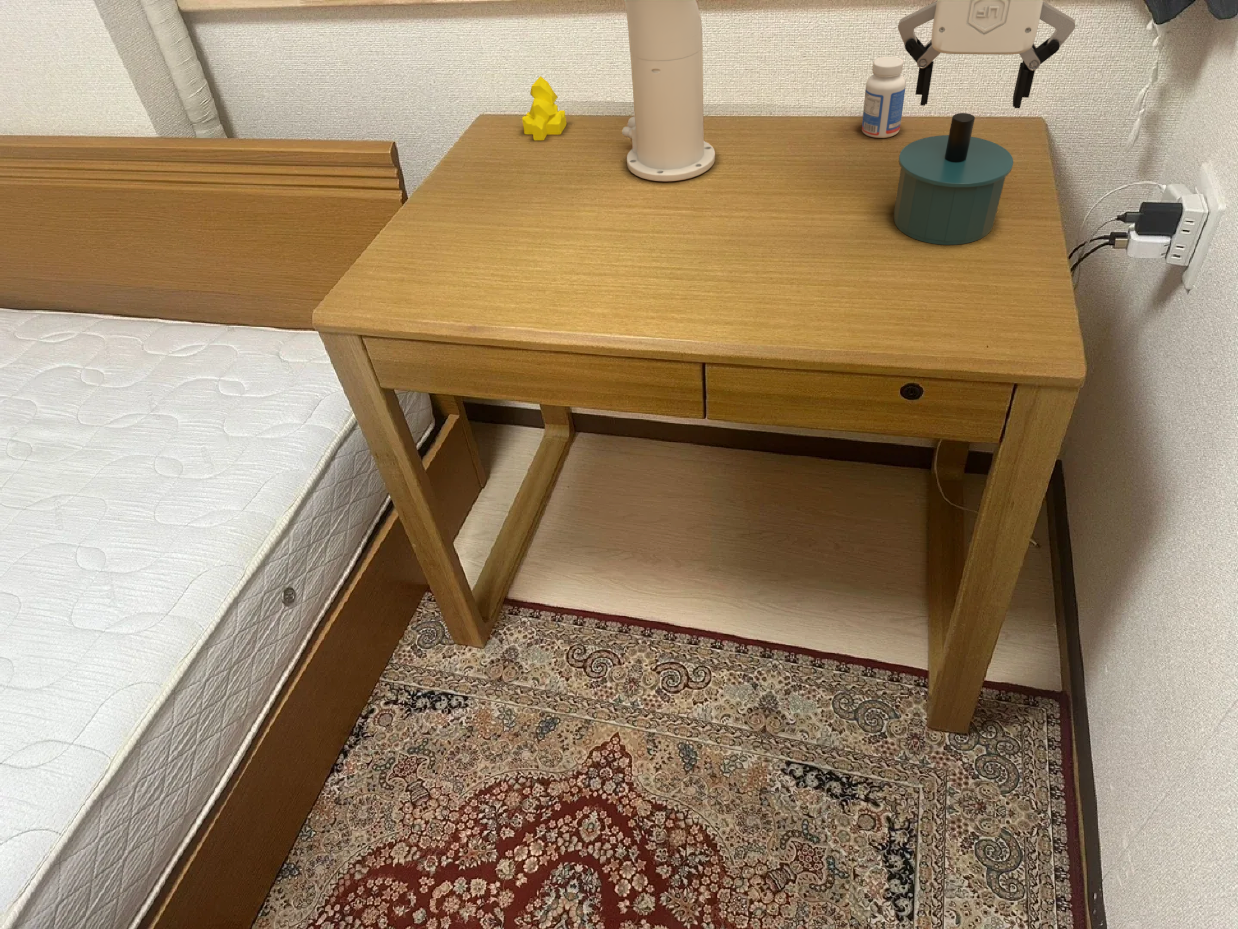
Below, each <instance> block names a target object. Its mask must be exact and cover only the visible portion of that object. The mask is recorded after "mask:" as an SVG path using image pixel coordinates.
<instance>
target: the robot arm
mask: <svg viewBox="0 0 1238 929" xmlns="http://www.w3.org/2000/svg"><path fill="white" fill-rule="evenodd" d="M623 1H624V7H625V12H626V21H627V31H628V42H629V54H630V69H631V83H632V84H631V85H632V97H633V99H632V100H633V112H634V116H631V117H630V118H629V119H628V121H627V126H624V127H623V128H622V130H621V135H622V136H623V137H625V138H628V139H631V142H632V148H631V149H630V150H629V151H628V153H627V155H626V166H627V169H628V171H630V172H631V173H632V174H634V175H635V176H637V177H639V178H641V179H643V180H644V179H645V180H648V181H654V182H677V181H678V182H679V181H684V180H689V179H692V178H696V177H698V176H700V175H702V174H704V173H706V172H707V171H708V170H710V169H711V168H712V167H713V165H714V164H715V161H716V152H715V151H716V150H715V148H714V147H713V146H712V145H711V144H710V143H709V142H707V141H705V134H704V133H705V132H704V130H705V129H704V128H705V127H704V126H705V125H704V54H703V53H704V51H703V50H704V49H703V48H704V45H703V24H702V18H701V12H700V8H699V5H698V2H697V0H623ZM932 20H933V21H932ZM930 21H932V28H931V39H930V40H929V41H928V42H927V43H926V44H925V45H924V44H923V42H921V40H920V39H919V38H918V37H917V35H916V32H915V29H916V28H918V27H920V26H921V25H924V24H926V23H928V22H930ZM1040 21H1041V22H1042V21H1043V22H1044V24H1045V23H1046V24H1047V25H1048V26H1050V27H1052V28H1054V29H1055V30H1054V31H1053V33H1052V35H1051V36H1050V37H1049V38H1047V39H1046V40H1044V41H1043V42H1042V43H1040V45H1038V46H1036V44H1035V40H1036V36H1037V33H1038V29H1039V25H1040ZM1075 29H1076V22H1075V19H1074V18H1073V17H1071V16H1069V15H1068V14H1066V13H1064V12H1063V11H1061V10H1059V9H1057V8H1056V7H1054V6H1052V5H1050V4H1048V3H1047V2H1046V1H1044V0H936V1H933V2H932V3H930V4H928V5H926V6H923V7H922V8H919V9H918V10H916V11H913V12H912V13H909V14H908V15H906V16H904V17H902V18H900V19H899V21H898V24H897V30H898V33H899V35H900V37H901V40H902V43H903V45H904V50H905V51H906V52H907V53H908V54H909V56H910V57H911V58H912V59H913V60H914V61H915V63H916V66H917V67H918V74H917V81H916V86H915V87H916V88H915V94H914V95H916V96H920V97H921V98H920V103H919V104H920V105H919V106H922V107H923V106H924V107H925V106H926V105H928V101H929V94H930V88H931V82H932V75H933V69H934V63H935V61H934V60H935V59H936V58H937V57H938V56H939V55H941V54H948V55H987V56H988V55H990V56H991V55H992V56H993V55H995V56H997V55H998V56H1006V55H1007V56H1008V55H1010V56H1011V55H1019V56H1020V58H1021V59H1022V62H1020V63H1019V68H1018V72H1017V76H1016V80H1015V86H1014V90H1013V95H1012V107H1013V108H1014V109H1021V106H1022V100H1023V98H1026V99H1027V98H1029V97H1030V93H1031V90H1032V86H1033V83H1034V77H1035V73H1036V70H1038V69H1039V68H1040V66H1041V65H1042V64H1043V63H1045V62H1046V61H1047V60H1048V59H1050V58H1051V57H1052V56H1053V55H1055V54H1056V53H1057V52H1058V51H1059V50H1060V47H1061V46H1062V45H1063V44H1064V43H1065V42H1066V41H1067V39H1068V38H1069V37H1070V35H1071V34H1072V33H1073V32H1074V30H1075Z"/></svg>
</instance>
